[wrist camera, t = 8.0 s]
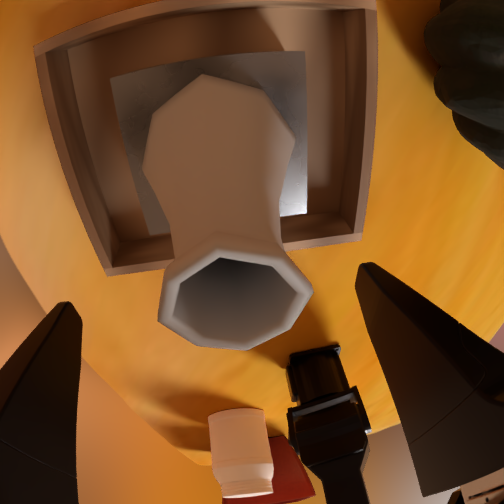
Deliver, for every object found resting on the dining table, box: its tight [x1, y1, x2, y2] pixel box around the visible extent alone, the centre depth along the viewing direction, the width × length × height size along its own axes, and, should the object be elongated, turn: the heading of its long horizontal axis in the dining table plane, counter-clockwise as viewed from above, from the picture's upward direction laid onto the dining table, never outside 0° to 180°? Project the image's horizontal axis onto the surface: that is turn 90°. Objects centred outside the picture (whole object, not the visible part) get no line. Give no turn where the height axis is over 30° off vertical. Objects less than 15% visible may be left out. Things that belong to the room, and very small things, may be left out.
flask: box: [142, 74, 314, 351], centre depth 10 cm, size 7×7×10 cm
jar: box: [208, 408, 274, 498], centre depth 42 cm, size 12×10×15 cm
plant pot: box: [222, 436, 316, 504], centre depth 55 cm, size 19×19×17 cm
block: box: [110, 51, 307, 235], centre depth 15 cm, size 9×9×4 cm
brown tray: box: [33, 0, 378, 277], centre depth 16 cm, size 18×16×4 cm
